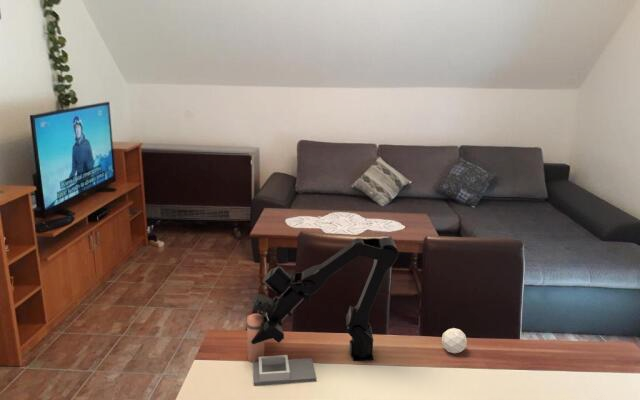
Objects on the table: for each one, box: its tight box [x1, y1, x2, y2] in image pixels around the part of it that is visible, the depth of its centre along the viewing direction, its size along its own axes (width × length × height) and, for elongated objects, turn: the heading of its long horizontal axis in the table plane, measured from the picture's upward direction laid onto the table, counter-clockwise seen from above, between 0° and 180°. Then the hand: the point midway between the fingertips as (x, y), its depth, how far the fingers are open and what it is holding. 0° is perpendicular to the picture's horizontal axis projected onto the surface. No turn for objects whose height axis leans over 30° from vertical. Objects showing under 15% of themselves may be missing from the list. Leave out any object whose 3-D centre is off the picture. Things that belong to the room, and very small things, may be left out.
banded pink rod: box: [246, 313, 265, 363], centre depth 155 cm, size 5×5×14 cm
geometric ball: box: [441, 327, 468, 354], centre depth 162 cm, size 8×8×8 cm
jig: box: [252, 354, 317, 387], centre depth 149 cm, size 18×10×4 cm, turn 98°
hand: (251, 338), depth 154 cm, fingers closed on banded pink rod, 5 cm apart
